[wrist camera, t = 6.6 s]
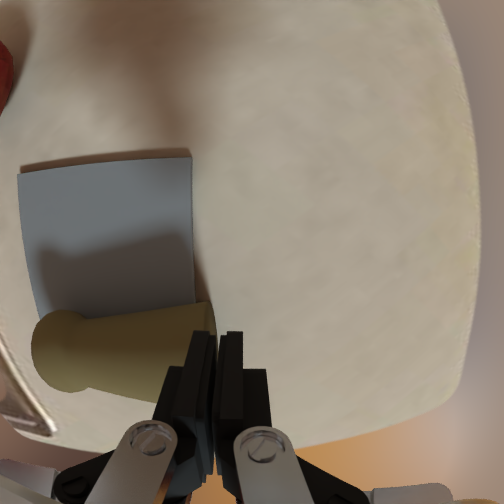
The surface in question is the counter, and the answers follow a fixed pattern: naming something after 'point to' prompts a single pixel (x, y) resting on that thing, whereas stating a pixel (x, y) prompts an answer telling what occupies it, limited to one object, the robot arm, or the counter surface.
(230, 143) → the counter surface
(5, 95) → the fruit
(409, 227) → the counter surface
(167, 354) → the olive brown rounded cylinder
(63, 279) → the grey mat
